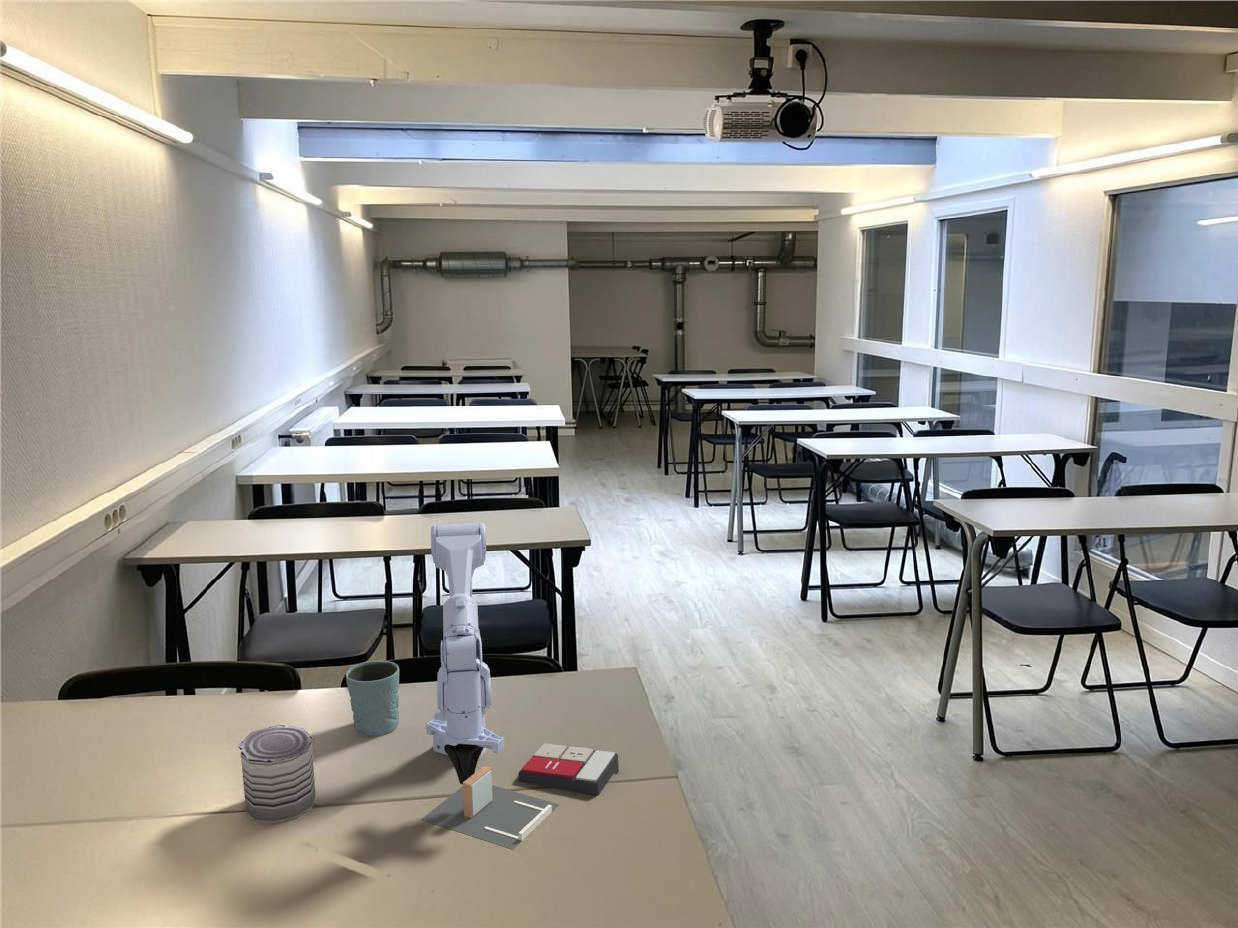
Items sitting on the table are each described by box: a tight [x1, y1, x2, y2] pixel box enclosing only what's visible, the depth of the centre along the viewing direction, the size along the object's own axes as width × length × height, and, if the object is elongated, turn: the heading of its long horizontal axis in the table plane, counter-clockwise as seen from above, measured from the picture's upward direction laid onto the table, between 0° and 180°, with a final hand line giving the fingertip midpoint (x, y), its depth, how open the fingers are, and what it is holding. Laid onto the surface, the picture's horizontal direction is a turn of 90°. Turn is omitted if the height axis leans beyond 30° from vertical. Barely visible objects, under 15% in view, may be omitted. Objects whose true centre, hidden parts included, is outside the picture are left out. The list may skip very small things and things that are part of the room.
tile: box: [462, 765, 493, 818], centre depth 154 cm, size 2×6×6 cm, turn 153°
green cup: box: [345, 660, 400, 738], centre depth 185 cm, size 10×10×12 cm
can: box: [237, 724, 317, 825], centre depth 157 cm, size 11×11×12 cm
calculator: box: [517, 742, 620, 797], centre depth 166 cm, size 11×4×15 cm
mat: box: [420, 784, 560, 850], centre depth 154 cm, size 18×14×2 cm
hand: (466, 781), depth 155 cm, fingers closed
